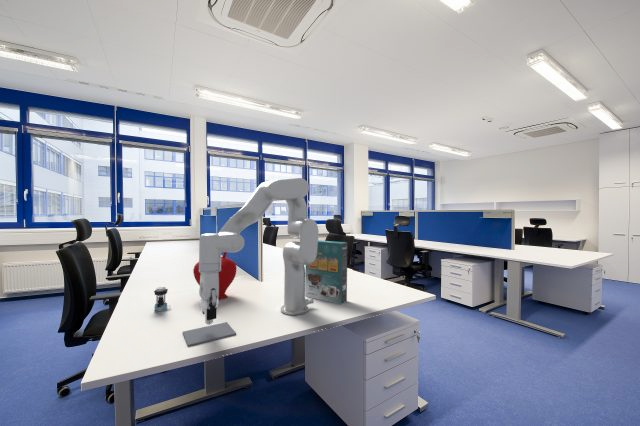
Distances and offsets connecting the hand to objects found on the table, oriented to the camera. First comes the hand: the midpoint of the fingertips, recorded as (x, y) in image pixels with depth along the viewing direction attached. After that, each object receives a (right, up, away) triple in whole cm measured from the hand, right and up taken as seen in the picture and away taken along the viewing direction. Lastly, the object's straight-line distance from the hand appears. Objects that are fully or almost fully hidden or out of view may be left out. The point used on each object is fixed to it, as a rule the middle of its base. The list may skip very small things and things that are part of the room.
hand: (209, 315), depth 98 cm
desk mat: (0, -7, 0) cm, 7 cm away
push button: (-31, -7, +24) cm, 39 cm away
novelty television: (-14, -7, +43) cm, 45 cm away
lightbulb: (0, -3, 0) cm, 3 cm away
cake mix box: (+44, -8, +43) cm, 61 cm away
